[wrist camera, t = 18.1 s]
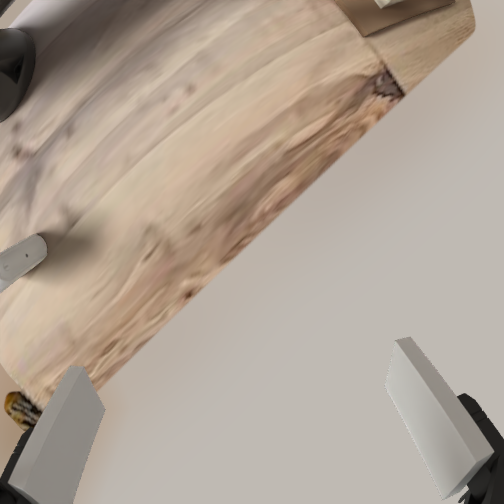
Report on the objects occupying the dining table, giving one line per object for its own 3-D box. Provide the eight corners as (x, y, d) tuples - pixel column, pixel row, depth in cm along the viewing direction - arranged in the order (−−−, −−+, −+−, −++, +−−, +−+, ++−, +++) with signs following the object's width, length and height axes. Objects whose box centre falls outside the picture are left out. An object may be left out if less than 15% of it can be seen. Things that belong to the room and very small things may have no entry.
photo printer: (39, 227, 35) (-16, 258, 23) (53, 253, 36) (2, 292, 25) (3, 257, 36) (-45, 290, 24) (16, 280, 37) (-30, 317, 26)
